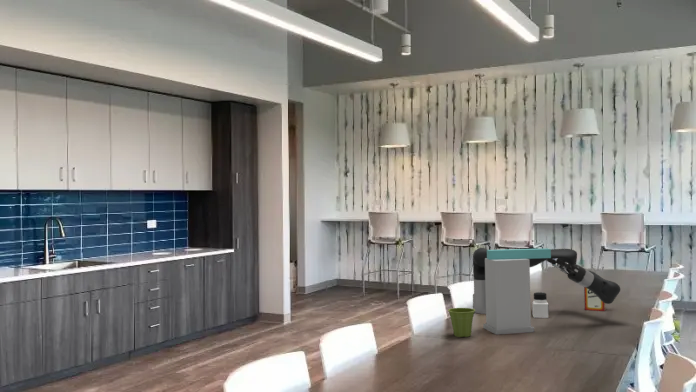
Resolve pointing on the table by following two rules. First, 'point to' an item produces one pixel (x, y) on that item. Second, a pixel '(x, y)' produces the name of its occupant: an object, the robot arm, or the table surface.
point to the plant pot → (461, 321)
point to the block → (518, 254)
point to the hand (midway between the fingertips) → (552, 259)
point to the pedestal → (508, 296)
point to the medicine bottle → (540, 305)
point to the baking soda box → (593, 301)
